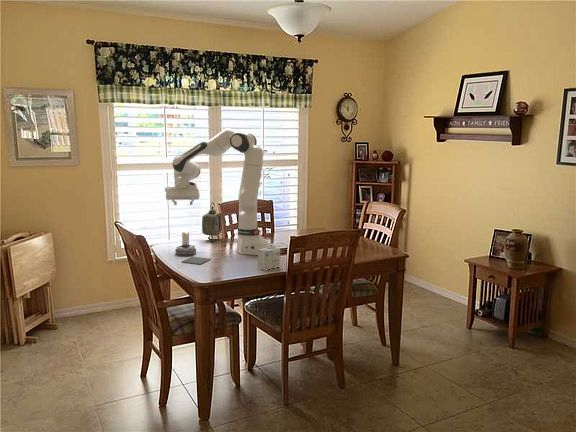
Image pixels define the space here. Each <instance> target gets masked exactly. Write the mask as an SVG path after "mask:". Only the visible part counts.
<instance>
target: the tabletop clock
mask: <svg viewBox="0 0 576 432" xmlns="http://www.w3.org/2000/svg"><path fill="white" fill-rule="evenodd" d="M212 205H213V206H212ZM209 207H210V209H209V210H208V212H206V213H205V214H203V215H202V218H201V233H202V234H203V235H205V236H208V237H207V239H208V240H211V241H212V242H214V241H215V239H214V236H215V237H217V239H220V236H221V235H220V234H221V233H222V229H223V228H222V227H223V216H222V213H221V212H217V211H216V210H215V209H214V208H215V202H213V201H212V202H210V206H209Z"/></svg>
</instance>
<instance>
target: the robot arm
mask: <svg viewBox="0 0 576 432" xmlns="http://www.w3.org/2000/svg"><path fill="white" fill-rule="evenodd" d="M231 148H233V149H234V150H236V151H238V152H240V153H242V154H244V161H243V166H242V173H241V178H240V179H241V181H240V185H239V191H238V192H239V193H238V201H239V202H238V203H239V204H238V228H237V244H236V247H235V248H236V249H235V251H236V253H239V254H240V255H251V256H252V255H253V256H258V249H262V248H268V247H270V244H269V241H268V240H267V239H266V238H265V237H264V236H262V235H261V234H260V232H261V231H262V229H261V228H260V229H259V228H258V195H259V188H260V182H261V176H262V170H263V163H264V151H263V149H262V147H260V146H257V139H256V136H254V135H253V134H252V133H248V132H245V131H234V130H233V129H232V128H229V127H228V128H225V129H224V130H222V131H220V132H219V133H218V134H216V135H215V136H214V137H212V138H211V139H208V140H206V141H201V142H198V143H197V144H195V145H194V146H193V147H191V148H190V149H188V150H186V151H185V152H183V153H182V154H178V155H177V156H175V157H174V158H173V160H172V168H173V179H174V185H173V186H166V187H164V192H165V199H166V200H167V201H172V203H173V205H174V206H177V204H178V203H177V200H178V201H181V200H183V201H189V206H193V203H194V201H197V200H199V199H200V191H199V187H198V185H197V183H195V182H192V181H191V180H194V179H196V178H198V177H199V176H200V173H201V166H200V165H199V164H198V163H196V162H195V161H192V160H193V159H194V158H195V157H197V156H199V155H206V156H207V155H209V156H212V157H220V156H222V155H223V154H225V153H226V152H227V151H229V150H230V149H231Z"/></svg>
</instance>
